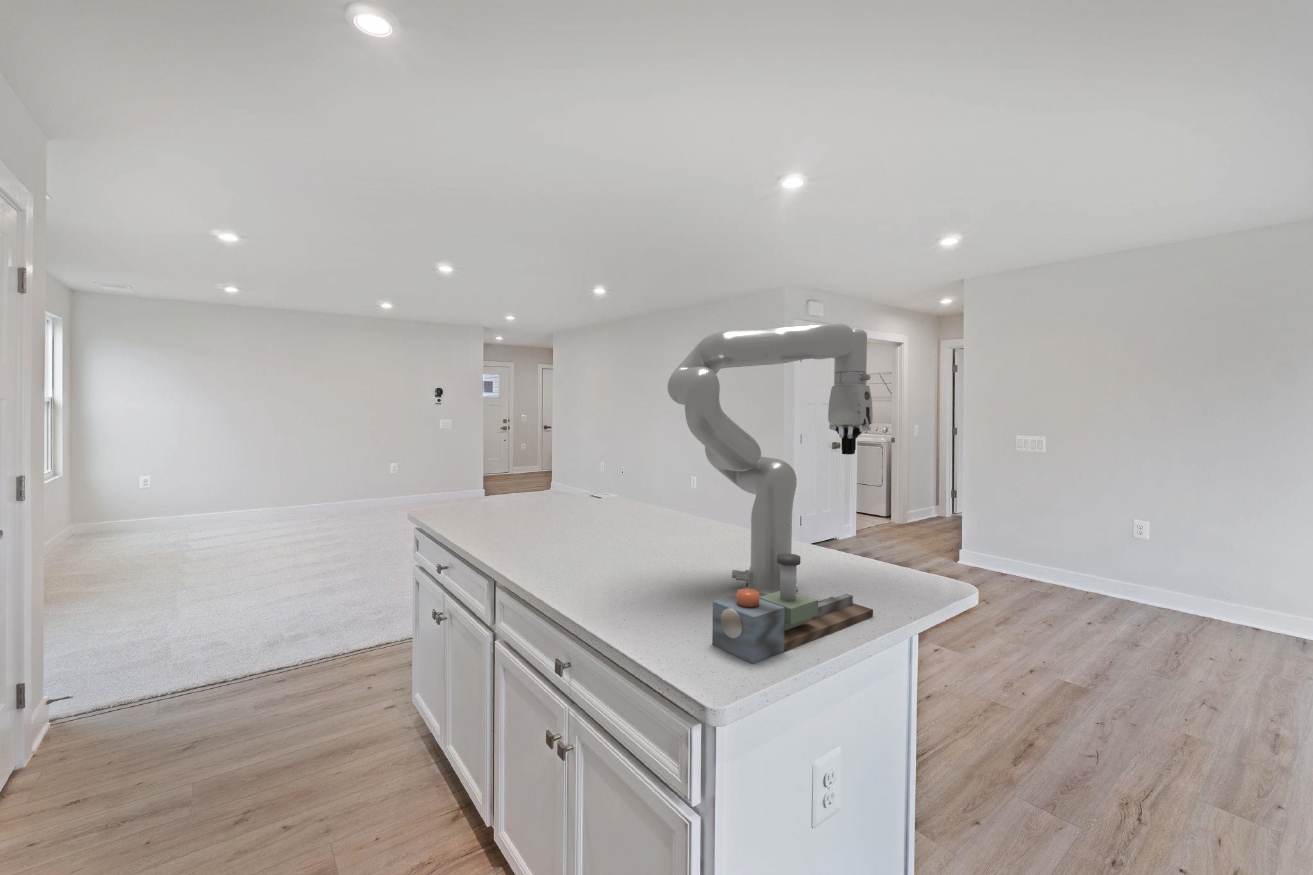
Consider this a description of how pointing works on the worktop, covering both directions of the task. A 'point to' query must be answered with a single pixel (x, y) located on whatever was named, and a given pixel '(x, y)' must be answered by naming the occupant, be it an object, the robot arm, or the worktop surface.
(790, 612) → the block
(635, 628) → the worktop surface
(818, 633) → the rail stand
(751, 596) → the button
